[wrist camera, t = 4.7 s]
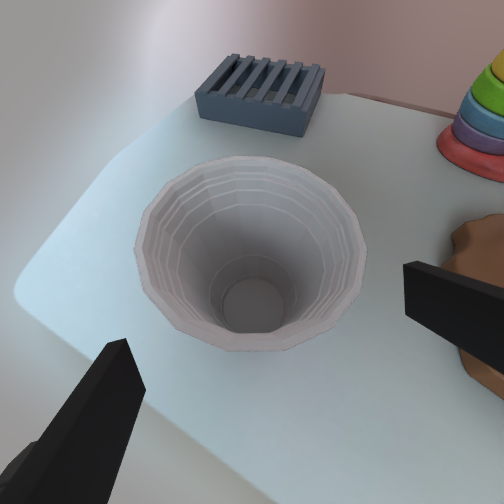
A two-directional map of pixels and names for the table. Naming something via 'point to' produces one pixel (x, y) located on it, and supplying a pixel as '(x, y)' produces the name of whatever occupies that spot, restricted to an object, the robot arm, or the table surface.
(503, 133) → the stacking bear
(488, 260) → the plant
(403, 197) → the table surface
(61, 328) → the table surface
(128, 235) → the table surface
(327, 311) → the plastic cup
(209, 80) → the dish rack
